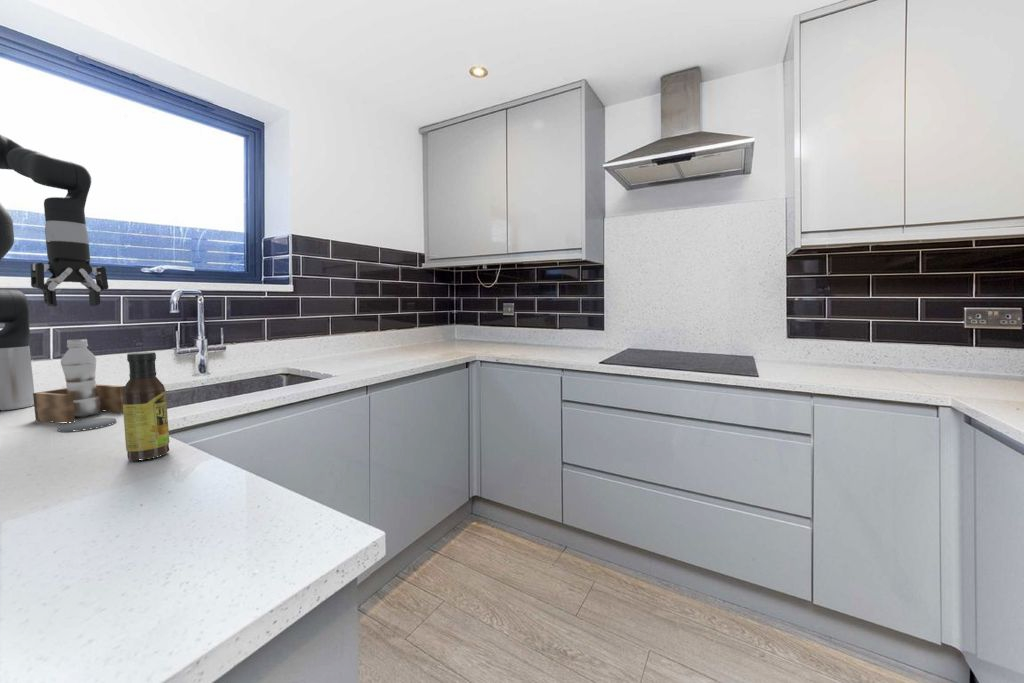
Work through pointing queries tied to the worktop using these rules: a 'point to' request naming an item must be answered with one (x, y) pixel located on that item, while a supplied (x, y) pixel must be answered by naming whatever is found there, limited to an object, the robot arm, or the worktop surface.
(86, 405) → the plastic bottle
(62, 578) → the worktop surface
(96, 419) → the mat
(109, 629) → the worktop surface
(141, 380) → the sauce bottle
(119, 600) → the worktop surface
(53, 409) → the holder
